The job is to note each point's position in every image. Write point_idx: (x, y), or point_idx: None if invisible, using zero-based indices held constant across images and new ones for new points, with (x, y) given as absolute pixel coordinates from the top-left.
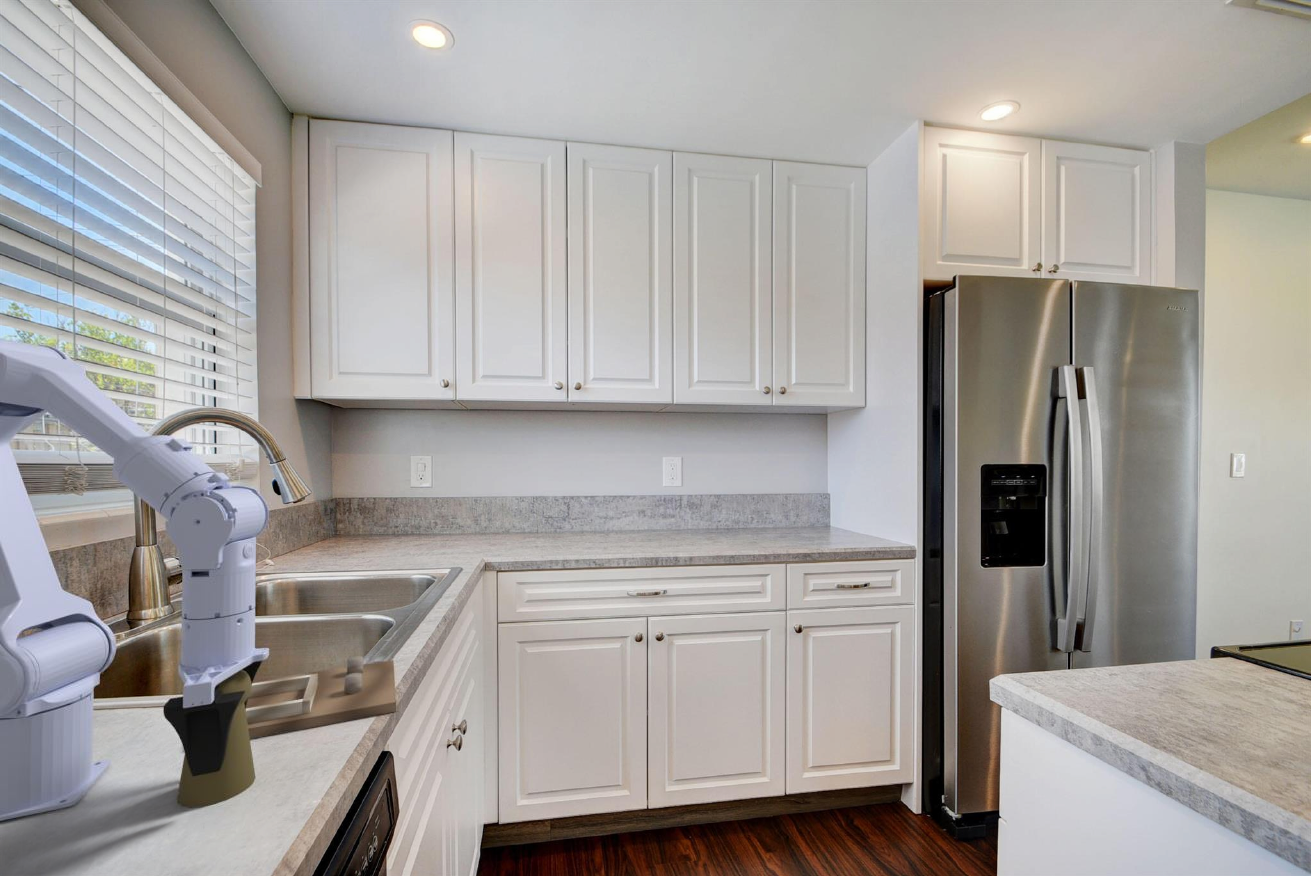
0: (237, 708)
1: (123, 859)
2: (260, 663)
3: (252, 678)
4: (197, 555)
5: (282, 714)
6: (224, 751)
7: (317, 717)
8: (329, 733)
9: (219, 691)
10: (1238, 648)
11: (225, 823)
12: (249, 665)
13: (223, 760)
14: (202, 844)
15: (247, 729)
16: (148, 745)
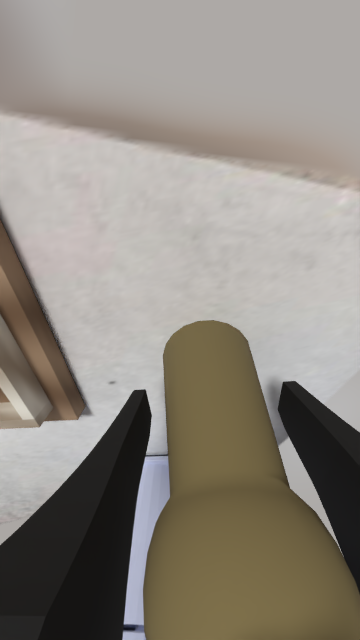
0: (269, 474)
1: (321, 395)
2: (43, 631)
3: (91, 524)
4: None
5: (5, 335)
6: (323, 404)
7: (4, 265)
8: (55, 228)
9: None
10: None
11: (315, 326)
12: (65, 634)
13: (299, 389)
14: (350, 337)
15: (214, 391)
16: (67, 444)
